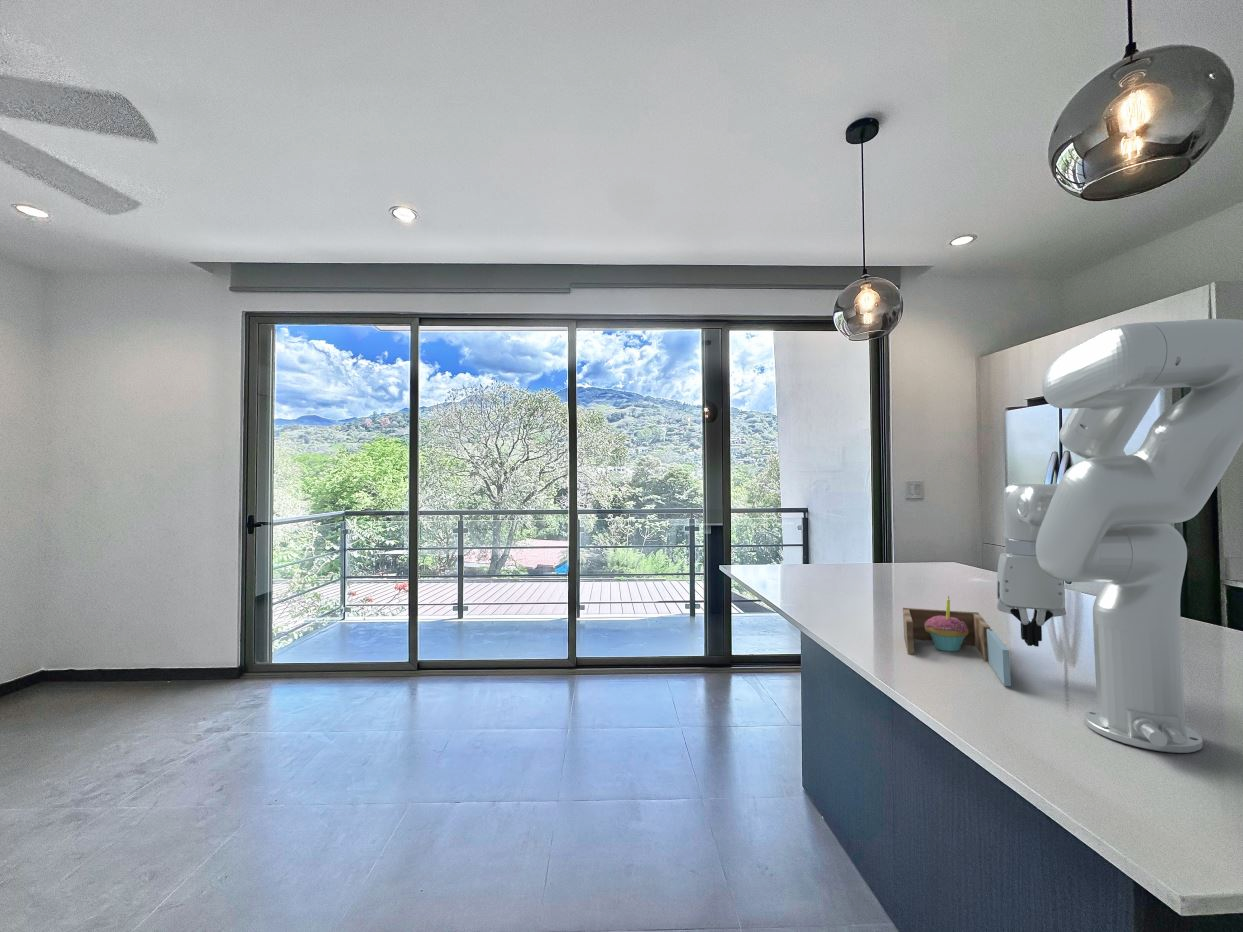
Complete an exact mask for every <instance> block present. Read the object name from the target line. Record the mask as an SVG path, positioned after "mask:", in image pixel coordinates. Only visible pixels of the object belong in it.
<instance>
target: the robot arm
mask: <svg viewBox="0 0 1243 932" xmlns="http://www.w3.org/2000/svg"><path fill="white" fill-rule="evenodd" d="M1168 388H1169V389H1174V388H1177V389H1178V388H1191V390H1190V392H1189V393H1188V394H1186V395H1185V396H1183V397H1182V398H1180V399H1179V400H1177V401H1176V402H1174V403H1173V404H1172V405H1170V406H1169V407H1168V408H1167V409H1165V411H1163V412H1162V413H1161V414H1160V415H1159V416H1158V417H1157V419H1156V420H1155V421H1154V422H1153V423H1152V424H1151V426H1150V428H1149V431H1148V432H1147V435H1146V437H1145V439H1144V440H1143V443H1142V444H1141V445H1140V447H1139V448H1138V450H1136V451H1135V452H1133V453H1131V454H1128V455H1127V454H1126V452H1125V451H1124V450H1125V448H1126V446H1127V444H1128V443H1129V441H1130V440H1131V439H1132V437H1133V435H1134V433H1135V431H1136V430H1137V428H1138V427H1139V425H1140V423H1141V422H1142V420H1143V419H1144V417H1145V415H1147V413H1148V411H1149V409H1150V408H1151V406H1152V404H1153V402H1154V401H1155V399H1156V398H1157V396H1158V395H1159V393H1160V391H1161V389H1168ZM1041 391H1042V395H1043V397H1044V399H1045V401H1046V402H1047V403H1048V405H1050V406H1052V407H1054V408H1056V409H1057V408H1058V409H1061V410H1062V409H1063V410H1064V409H1065V410H1068V409H1070V411H1069V413H1068V415H1067V416H1066V418H1065V420H1064V422H1063V425H1062V426H1061V428H1060V430H1059V433H1058V438H1059V441H1060V443H1061V444H1062V445H1063V446H1064V447H1065V448H1066V449H1067V450H1068V451H1070V452H1071V453H1073V454H1075V455H1076V456H1079V457H1081V458H1083V459H1082V460H1079V461H1078V462H1076V463H1074V464H1072V466H1070V467H1069V468H1068V469H1067V470H1066V471H1064V474H1063V475H1062V476H1061V478H1060V480H1059V482H1058V483H1050V484H1048V483H1046V484H1043V483H1042V484H1041V483H1013V484H1009V485H1007V486H1006V487H1005V488H1004V491H1003V515H1004V517H1003V518H1004V521H1003V522H1004V551H1005V552H1002V553H1000V554H999V558H998V564H997V575H996V577H997V578H996V598H997V600H998V602H997V605H996V609H997V610H998V611H1000V612H1001V613H1006V614H1009V615H1013V617H1014V618H1016V619H1017V620H1018V621H1019V622H1020V637H1021V640H1023V641H1024V643H1025V644H1026V645H1027V646H1028V647H1032V646H1034V647H1039V646H1040V644H1039V642H1043V633H1042V632H1043V630H1042V626H1044V624H1045V623H1047V621H1049V620H1050V619H1051V618H1055V617H1063V616H1066V615H1067V611H1066V609H1065V605H1066V594H1065V593H1066V592H1065V585H1064V582H1068V583H1070V582H1071V583H1103V585H1102V587H1101V588H1100V589H1099V591H1098V593H1097V595H1096V597H1095V599H1094V602H1093V606H1092V628H1093V629H1092V630H1093V648H1094V649H1093V650H1094V652H1093V653H1094V665H1095V666H1094V669H1095V686H1096V687H1095V688H1096V689H1095V691H1096V692H1095V693H1096V694H1095V695H1096V707H1097V708H1094V709H1090V710H1087V711H1086V712H1085V713H1084V723H1085V724H1086V726H1087V727H1088V728H1089V729H1091V731H1094V732H1095V733H1098V735H1101V736H1104V737H1105V738H1108V739H1111V740H1112V741H1116V742H1119V743H1121V744H1124V745H1125V744H1126V745H1128V746H1133V747H1136V748H1141V749H1146V750H1151V751H1156V752H1157V751H1158V752H1164V753H1177V754H1180V753H1181V754H1184V753H1185V754H1186V753H1194V752H1198V751H1199V750H1201V749H1202V748H1203V745H1204V743H1203V741H1204V740H1203V738H1202V736H1201V734H1200V733H1198V732H1197V731H1196V730H1194V729H1192V728H1191V727H1188V726H1187V723H1186V705H1185V690H1184V689H1185V688H1184V687H1185V686H1184V668H1183V653H1182V651H1183V649H1182V625H1181V623H1182V621H1181V594H1182V585H1183V579H1184V576H1185V571H1186V567H1187V566H1186V565H1187V561H1188V547H1187V543H1186V541H1185V538H1184V537H1183V536H1182V533H1180V532H1179V531H1178V530H1177V529H1176V528H1175V527H1173V526H1172V525H1171V524H1178V523H1183V522H1186V521H1188V520H1191V519H1193V518H1195V516H1197V515H1198V514H1199V513H1200V512H1201V511H1202V509H1203V508H1204V506H1205V505H1206V503H1207V502H1208V500H1209V499H1210V497H1211V495H1212V493H1214V490H1215V489H1216V487H1217V485H1218V484H1219V482H1220V480H1221V479H1222V478H1223V476H1224V474H1225V473H1226V471H1227V469H1228V467H1229V466H1230V464H1231V462H1232V461H1233V459H1234V457H1235V455H1236V454H1237V451H1238V450H1239V448H1240V447H1241V445H1242V444H1243V320H1242V319H1236V318H1235V319H1233V318H1232V319H1231V318H1207V319H1206V318H1202V319H1187V320H1183V319H1182V320H1170V321H1169V320H1166V321H1149V322H1148V321H1147V322H1135V323H1134V322H1133V323H1125V324H1121V325H1117V326H1114V327H1110V328H1109V329H1107V330H1105V331H1103V332H1100V333H1098V334H1097V335H1094V336H1093V337H1091V338H1089V339H1087V340H1085V341H1083V342H1081V343H1079V344H1077V345H1075V346H1073V347H1072V348H1069V349H1068V350H1065V352H1063V353H1062V354H1060V355H1059V356H1058V357H1056V359H1054V360H1053V361H1052V362H1051V364H1049V366H1048V368H1047V369H1046V371H1045V374H1044V375H1043V379H1042V384H1041ZM1027 609H1030V610H1033V613H1032V618H1031V621H1030V619H1029V616H1028V610H1027Z"/></svg>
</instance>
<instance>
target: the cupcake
mask: <svg viewBox="0 0 1243 932" xmlns="http://www.w3.org/2000/svg"><path fill="white" fill-rule="evenodd" d="M945 605H946V607H945V608H946V616H944V615H943V616H940V615H939V616H933V617H932V618H930V619H928V620H927V621H926V622H925V623H924V624H925V630H926V632H928V633H930V635H931V637H932V639H933V641H932V643H933V644H934V647H935V649H938V650H940V651H944V652H959V651H960V650H961V647H962V644H963V643H962V642H963V640H964V638H965V636H967V635H968V629H967V628H968V627H967V625H966V624H965V623H963V621H961V620H959V619H958V618H954V617H950V611H951V599H950V595H949V596H947V599H946V604H945Z"/></svg>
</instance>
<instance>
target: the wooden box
mask: <svg viewBox="0 0 1243 932" xmlns="http://www.w3.org/2000/svg"><path fill="white" fill-rule="evenodd" d="M939 615H940V616H943V615H944V616H946V610H943V609H942V610H941V609H928V608H927V609H925V608H915V607H914V608H913V607H903V608H902V618H903V637H904V638H903V639H904V643H905V644H904V645H905V648H906V653H907V652H908V653H909V654H908V653H907V654H908V655H913V654H914V655H915V648H914V646H915V645H914V640H916V639H917V640H919V641H920V640H921V641H928V642H929V641H932V642H933V639H932V637H931V635H930V633H928V632H926V630H925V624H924V623H925V622H926V621H927V620H928V619H930V618H932V617H933V616H939ZM950 617H954V618H958V619H959V620H961V621H963V623H965V624H966V625H967V627H968V628H967V629H968V635H967V636H965V638H964V640H963V642H962V644H967V645H974V646H975V648H976V650H977V651H978V653H979V654H980V656H981V657H982V659H983V660H984V662H988V663H989V661H988V650H987V629H991V627H990V625H989V624H988V623H987V621H986V620H985V619H984V617H982V615H981V614H980V613H979V612H977V611H975V612H973V611H959V610H950Z"/></svg>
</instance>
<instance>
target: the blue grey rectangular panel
mask: <svg viewBox="0 0 1243 932" xmlns="http://www.w3.org/2000/svg"><path fill="white" fill-rule="evenodd" d="M987 650H988V661H989V662H988V661H987V662H988V663H989V664H990V666H991V668H992V670H993V671H994V672H995V674H996V675H997V677H998V678H999V680H1000V681H1001V683H1002V684H1003V686H1005V687H1011V686H1012V683H1011V682H1012V680H1011V662H1010V658H1011V657H1010V649H1009V648H1008V647H1007V646H1006V644H1005V643H1004V642H1003V641H1002V639H1001V638H1000V637H999V636H998V635H997V633H996V632H995V631H994V630H993V629H992V628H990V629H987Z"/></svg>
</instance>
